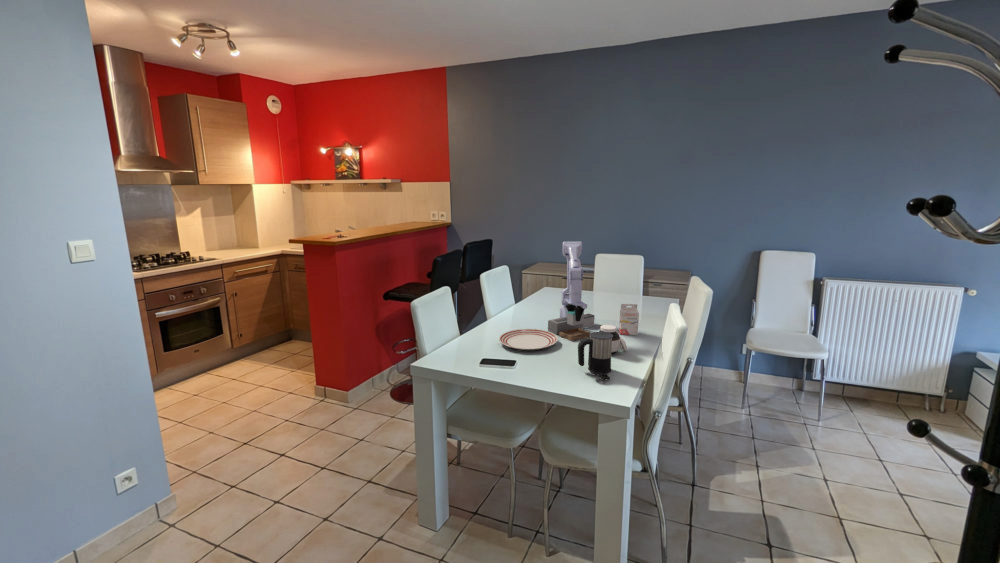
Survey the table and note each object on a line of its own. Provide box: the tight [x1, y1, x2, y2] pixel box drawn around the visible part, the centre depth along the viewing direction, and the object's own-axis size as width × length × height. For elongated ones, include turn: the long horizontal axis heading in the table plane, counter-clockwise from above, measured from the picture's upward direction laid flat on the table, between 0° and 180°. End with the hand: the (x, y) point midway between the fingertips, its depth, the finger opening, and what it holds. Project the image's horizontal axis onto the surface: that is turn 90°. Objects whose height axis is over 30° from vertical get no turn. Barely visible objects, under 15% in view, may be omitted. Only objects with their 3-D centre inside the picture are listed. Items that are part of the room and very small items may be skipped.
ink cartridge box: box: [618, 303, 640, 336], centre depth 234 cm, size 9×5×15 cm, turn 84°
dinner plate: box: [498, 328, 558, 351], centre depth 222 cm, size 28×27×3 cm
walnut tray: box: [558, 328, 591, 342], centre depth 231 cm, size 9×12×2 cm
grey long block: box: [547, 317, 584, 336], centre depth 241 cm, size 7×17×6 cm, turn 123°
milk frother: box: [577, 331, 613, 382], centre depth 184 cm, size 14×16×15 cm
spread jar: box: [598, 324, 628, 356], centre depth 209 cm, size 12×11×12 cm
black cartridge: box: [583, 313, 595, 329], centre depth 247 cm, size 4×7×6 cm, turn 123°
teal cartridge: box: [567, 310, 585, 326], centre depth 230 cm, size 4×7×6 cm, turn 123°
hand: (575, 319), depth 230 cm, fingers closed on teal cartridge, 4 cm apart
